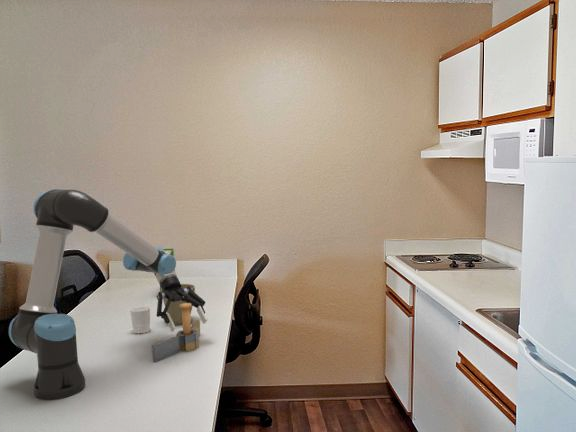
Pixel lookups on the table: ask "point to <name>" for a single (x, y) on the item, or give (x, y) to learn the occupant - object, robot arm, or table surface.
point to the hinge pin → (186, 318)
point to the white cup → (140, 319)
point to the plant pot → (177, 306)
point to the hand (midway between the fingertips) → (189, 325)
